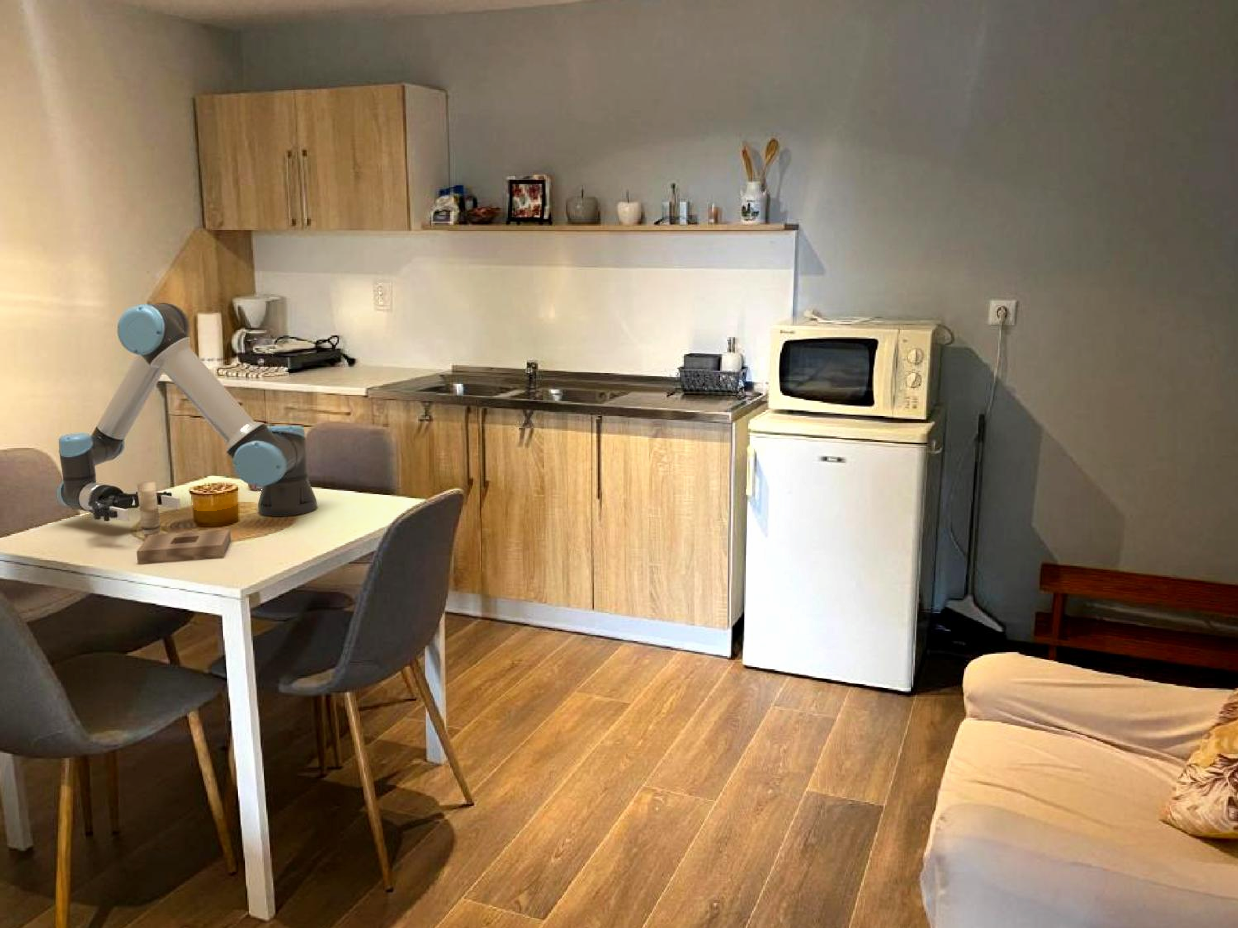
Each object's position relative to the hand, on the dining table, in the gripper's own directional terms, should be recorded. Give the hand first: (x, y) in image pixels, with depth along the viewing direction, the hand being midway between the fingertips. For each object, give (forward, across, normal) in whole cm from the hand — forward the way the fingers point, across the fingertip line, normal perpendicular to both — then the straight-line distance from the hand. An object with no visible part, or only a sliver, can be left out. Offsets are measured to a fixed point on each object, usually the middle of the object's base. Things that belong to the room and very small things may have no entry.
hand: (153, 509), depth 248 cm
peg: (-2, 0, -8) cm, 8 cm away
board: (+15, +2, -8) cm, 17 cm away
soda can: (-26, -51, -8) cm, 57 cm away
